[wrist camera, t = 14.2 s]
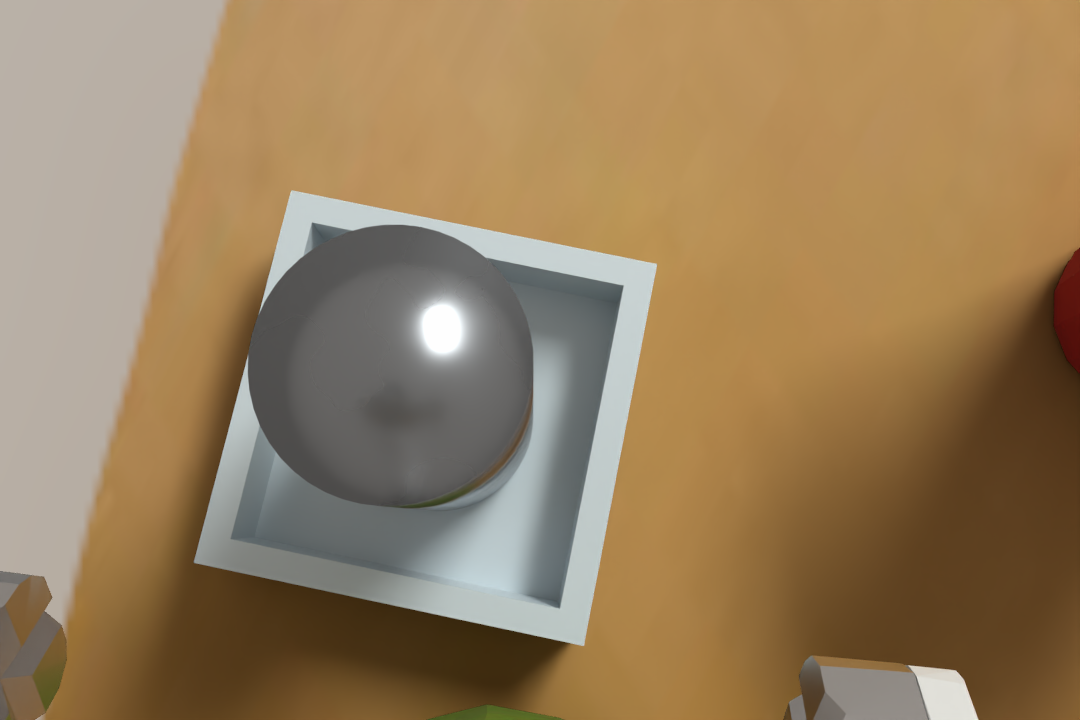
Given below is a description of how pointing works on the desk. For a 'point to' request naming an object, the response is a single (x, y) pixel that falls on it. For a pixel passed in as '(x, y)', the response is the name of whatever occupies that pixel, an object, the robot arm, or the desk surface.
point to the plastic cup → (1069, 311)
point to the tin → (395, 370)
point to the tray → (496, 522)
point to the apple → (494, 714)
